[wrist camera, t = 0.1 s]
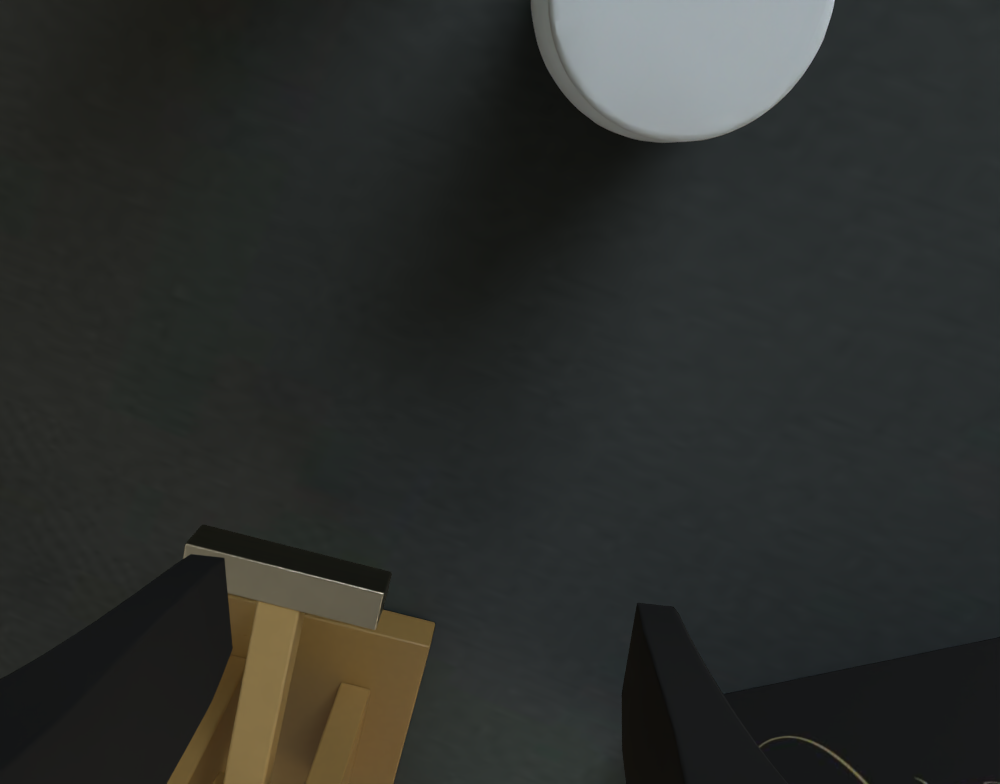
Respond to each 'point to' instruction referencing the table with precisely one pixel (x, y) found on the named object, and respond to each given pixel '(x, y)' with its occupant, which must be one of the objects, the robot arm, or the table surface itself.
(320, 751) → the wooden lever stand
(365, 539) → the table surface
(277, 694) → the handle
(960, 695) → the nameplate
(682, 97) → the pill bottle
